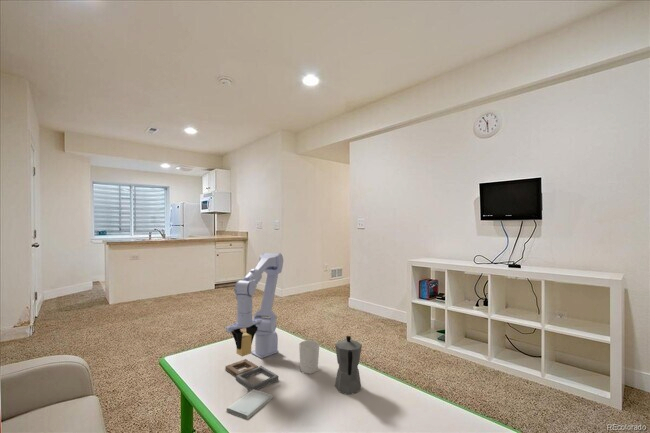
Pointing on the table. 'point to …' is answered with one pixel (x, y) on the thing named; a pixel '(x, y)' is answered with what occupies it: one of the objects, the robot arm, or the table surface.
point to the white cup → (309, 356)
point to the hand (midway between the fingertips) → (244, 346)
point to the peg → (245, 345)
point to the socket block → (245, 362)
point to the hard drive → (249, 403)
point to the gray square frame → (261, 384)
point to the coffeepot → (348, 366)
